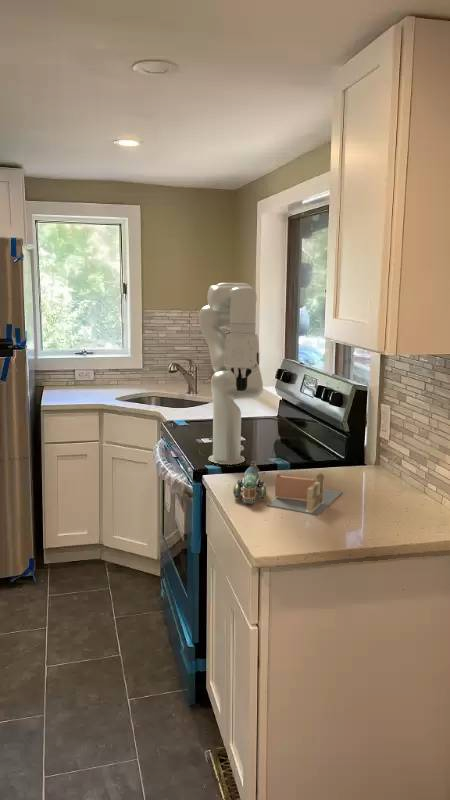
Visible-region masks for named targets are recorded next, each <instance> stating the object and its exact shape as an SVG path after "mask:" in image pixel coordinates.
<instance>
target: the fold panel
mask: <svg viewBox="0 0 450 800" xmlns="http://www.w3.org/2000/svg"><path fill="white" fill-rule="evenodd" d="M315 482H316V481H315V479H314V478H305V477H299V476H298V477H297V476H289V475H288V476H286V475H281V473H280V472H277V473H276V475H275V483H274V484H275V486H274V487H275V490H274V491H275V492H274V494H275V495H274V497H276V498H277V497H284V498H292V499H301V500H307V489H308V488H309V487H310V486H311V485H313V484H314V483H315Z"/></svg>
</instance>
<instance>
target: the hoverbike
mask: <svg viewBox="0 0 450 800" xmlns="http://www.w3.org/2000/svg"><path fill="white" fill-rule="evenodd" d="M253 462H254V463H255V464H254V465H253V464H252V463H253ZM262 475H266V472H262V473H261V475H260V469H259V467H258V466H257V462H256V461H255V460H252V461H251V463H250V466H249V467H248V468H247V469H246V470H245V472H244V477H243V478H240V479H241V480H239V479H238V480H237V481H236V482H235V484H234V486H233V489H232V491H233V492H232V495H233V496H234V499H239V498H240V496H241V494H242V497H243V498H241V501H242V502H243V503H244V505H246V504H251V505H254V503H256V500H257V499H256V496H257V493H258V497H260V498H259V499H260V500H265V499H266V497H267V494H268V493H267V491H268V490H267V484H266V483H265V482H264V480H262V481H261V479H260V476H262Z"/></svg>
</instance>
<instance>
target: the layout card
mask: <svg viewBox="0 0 450 800" xmlns="http://www.w3.org/2000/svg"><path fill="white" fill-rule="evenodd" d="M342 494H343V491H337V490H332V489H326V488H323V499H322V503H319V504H318V505H316V506H315V507H314V508H313V509H312V510H311V511H310V510H307V500H301V499H292V498H284V497H276V498H274V499H273V500H272V501H270V502H269V503H268V504H267V505H266V506H267V507H271V508H275V509H276V508H277V509H283V510H287V511H292V512H297V513H302V514H303V513H304V514H308V515H315V516H320V515H321V514H322V513H323V512H324V511H325V510H326V509H327V508H329V506H330V505H331V504H333V502H334V501H335V500H337V498H339V496H341V495H342Z"/></svg>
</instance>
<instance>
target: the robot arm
mask: <svg viewBox="0 0 450 800" xmlns="http://www.w3.org/2000/svg"><path fill="white" fill-rule="evenodd" d="M206 298H207V299H206V300H207V304H208V305H205V306H203V307H202V308H200V310H199V313H198V324H199V328H200V332H201V335H202V336H203V338H204V340H205V342H206V344H207V346H208V351H209V358H210V362H211V363H210V364H211V367H212V370H213V371H214V373H213V374H212V376H211V378H210V389H211V394H212V395H211V397H212V411H213V412H212V419H213V420H212V455H210V456H209V457H208V460H209V461H211V462H214V463H219V464H228V465H229V464H230V465H232V464H239V463H242V462H244V461H246V459H245V457H244V456H243V455H241V452H242V451H244V449H245V447H244V446H243V445H241V443H242V442H241V440H242V438H241V437H242V436H241V434H242V433H241V432H242V431H241V430H242V411H241V408H240V407H239V405H238V404H237V403H236V402H235V400H238V399H257V398H259V397H260V396H261V395H262V393H263V391H264V385H263V378H262V374H261V369H260V342H259V337H258V334H257V333H256V322H257V321H256V320H257V319H256V318H257V316H256V315H257V314H256V313H257V300H258V299H257V298H258V297H257V291H256V289H255V288H253V287H252V286H251V285H250V284H249V283H246V282H220V283H218V284H217V283H216V284H213V285H210V286H209V288H208V290H207V297H206ZM222 329H227V330H229V333H226V332H225V331H224V330H222ZM209 461H208V462H209ZM244 463H245V462H244Z"/></svg>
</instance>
